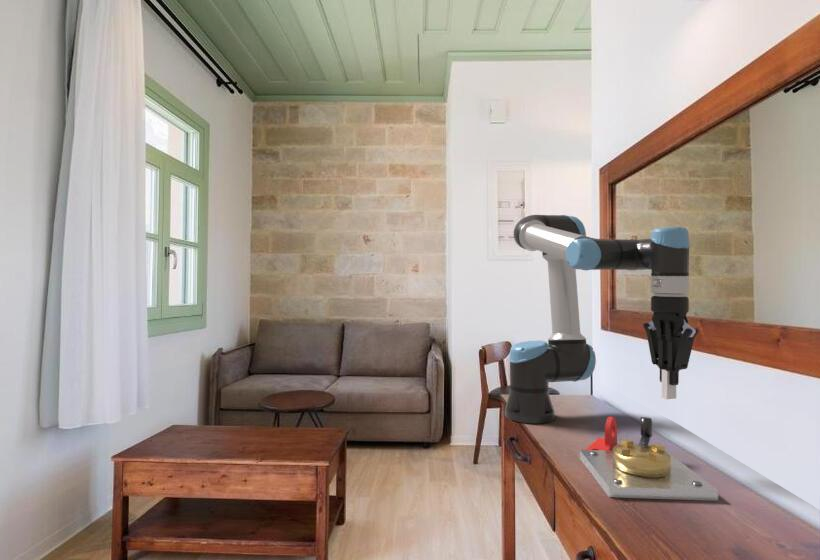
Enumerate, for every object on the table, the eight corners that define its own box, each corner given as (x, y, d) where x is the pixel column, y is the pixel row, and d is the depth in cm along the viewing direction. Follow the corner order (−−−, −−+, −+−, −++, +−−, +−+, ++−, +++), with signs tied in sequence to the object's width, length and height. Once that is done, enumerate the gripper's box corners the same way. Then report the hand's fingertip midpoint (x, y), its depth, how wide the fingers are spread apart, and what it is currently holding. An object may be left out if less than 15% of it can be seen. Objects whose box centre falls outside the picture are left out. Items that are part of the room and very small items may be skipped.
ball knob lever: (669, 481, 89) (669, 446, 89) (609, 470, 95) (608, 436, 95) (673, 450, 106) (672, 420, 106) (621, 442, 112) (621, 413, 112)
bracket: (598, 441, 119) (598, 411, 120) (617, 445, 117) (616, 414, 117) (584, 455, 110) (583, 422, 110) (603, 459, 107) (603, 426, 107)
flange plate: (579, 458, 108) (579, 448, 108) (667, 460, 106) (667, 450, 106) (609, 497, 88) (609, 485, 88) (718, 500, 86) (717, 488, 86)
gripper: (634, 294, 109) (633, 392, 109) (681, 296, 96) (681, 407, 96) (658, 293, 111) (658, 389, 111) (708, 296, 98) (707, 404, 99)
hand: (668, 397), depth 104 cm, fingers closed
